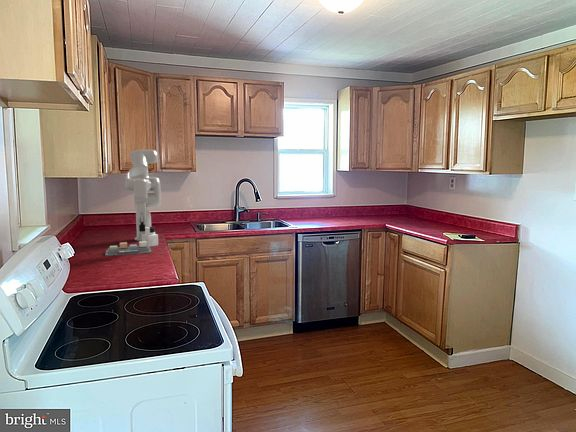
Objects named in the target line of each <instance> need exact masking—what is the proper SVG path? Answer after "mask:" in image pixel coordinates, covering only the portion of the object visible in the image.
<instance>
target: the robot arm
mask: <svg viewBox="0 0 576 432" xmlns="http://www.w3.org/2000/svg"><path fill="white" fill-rule="evenodd" d="M158 156H159V155H158V152H157V150H156V149H137V150H132V151H130V153H129V158H130V162H131V165H132V167H131V168H130V169H129V170H128V171H127V172H126V174H125V185H124V186H125V189H126V191H129V192H133V203H134V207H135V218H136V219H135V222H136V237H134V241H136V242H137V241H138V242H140V241H142V235H143V234H145V227H152V216H151V215H152V214H151V211H150V210H149V209H148V208H156V207H157V208H158V207H161V205H162V191H161V190H162V189H161V188H162V187H161V181H160V178H159V177H157V176H149V168H148V167H149V165H148V164H157V162H158V159H159V157H158ZM154 234H156V232H155V233H154Z"/></svg>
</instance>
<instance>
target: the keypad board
mask: <svg viewBox="0 0 576 432" xmlns="http://www.w3.org/2000/svg"><path fill="white" fill-rule="evenodd" d="M117 248H118V249H116V250H110V247H108V248H107V249H106V250H105V254H104V257H112V256H113V255H115V256H125V255H127V256H128V255H139V254H153V253H152V249H151V248H152V247H148V246H146V247H140V246H139V245H137V248H131V249H130V246H127V248H120V246H119V247H118V246H117ZM113 257H114V256H113Z"/></svg>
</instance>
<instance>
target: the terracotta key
mask: <svg viewBox="0 0 576 432" xmlns="http://www.w3.org/2000/svg"><path fill="white" fill-rule="evenodd" d="M119 247H120V248H127V247H128V242H127V241H125V242H119Z"/></svg>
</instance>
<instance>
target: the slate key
mask: <svg viewBox="0 0 576 432" xmlns="http://www.w3.org/2000/svg"><path fill="white" fill-rule="evenodd" d="M137 246H138V245H137V244H129V247H130V249H131V248H137Z"/></svg>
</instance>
